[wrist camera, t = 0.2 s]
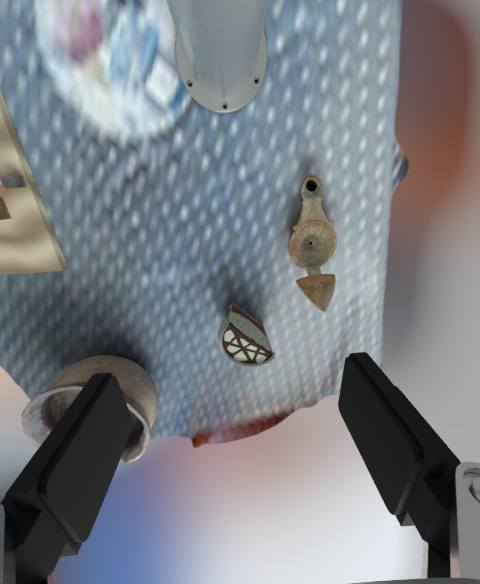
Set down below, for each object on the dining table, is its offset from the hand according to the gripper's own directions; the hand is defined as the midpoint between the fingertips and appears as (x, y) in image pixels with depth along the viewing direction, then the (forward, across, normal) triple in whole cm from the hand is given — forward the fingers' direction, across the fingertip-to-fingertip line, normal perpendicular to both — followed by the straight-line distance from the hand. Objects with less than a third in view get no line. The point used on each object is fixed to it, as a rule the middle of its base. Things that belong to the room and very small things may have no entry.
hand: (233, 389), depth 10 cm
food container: (+37, 0, +20) cm, 42 cm away
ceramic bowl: (+37, +29, +32) cm, 57 cm away
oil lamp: (+37, -14, +2) cm, 40 cm away
